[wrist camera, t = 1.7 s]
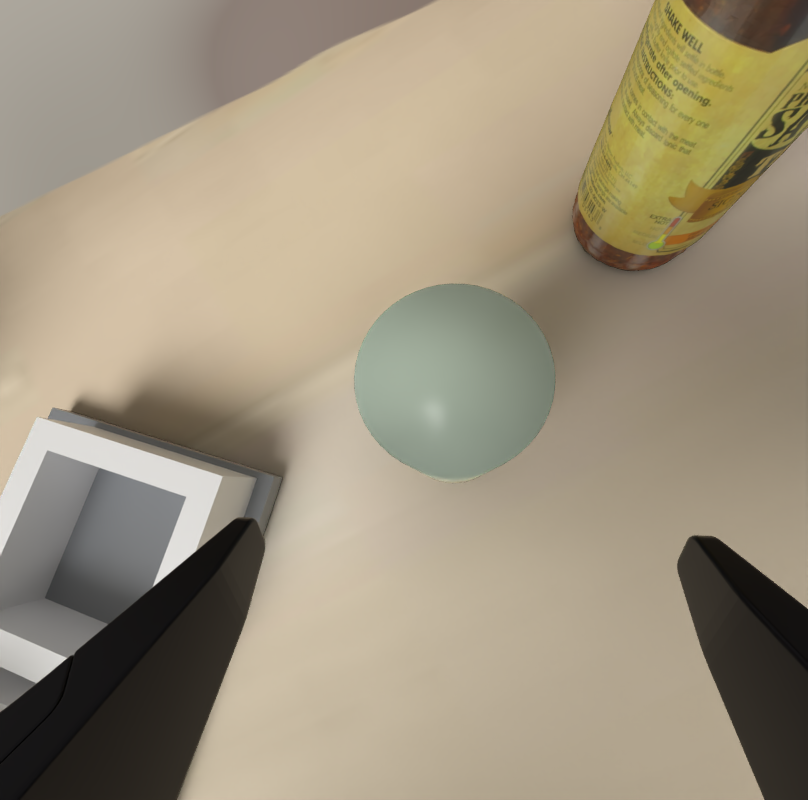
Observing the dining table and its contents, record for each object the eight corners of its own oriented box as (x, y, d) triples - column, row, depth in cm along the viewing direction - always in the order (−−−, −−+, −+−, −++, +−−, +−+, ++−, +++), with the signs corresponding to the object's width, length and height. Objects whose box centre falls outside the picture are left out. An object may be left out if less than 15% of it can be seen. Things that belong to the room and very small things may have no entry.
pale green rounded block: (491, 496, 19) (529, 503, 9) (389, 466, 20) (329, 444, 10) (515, 394, 20) (574, 305, 10) (417, 370, 21) (386, 266, 11)
